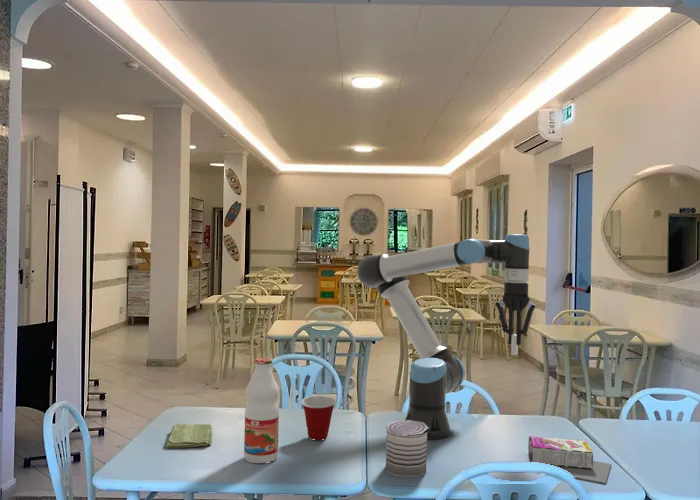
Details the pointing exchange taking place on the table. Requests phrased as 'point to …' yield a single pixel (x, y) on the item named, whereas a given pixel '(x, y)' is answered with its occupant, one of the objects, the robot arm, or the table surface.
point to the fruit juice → (261, 415)
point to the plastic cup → (318, 415)
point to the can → (406, 448)
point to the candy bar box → (560, 452)
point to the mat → (591, 472)
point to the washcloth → (190, 436)
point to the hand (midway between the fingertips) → (514, 354)
